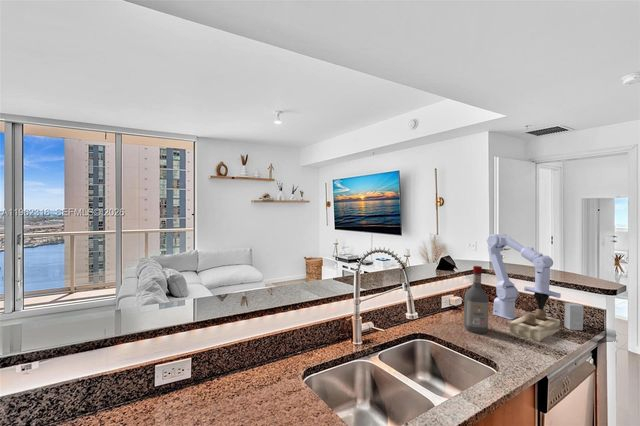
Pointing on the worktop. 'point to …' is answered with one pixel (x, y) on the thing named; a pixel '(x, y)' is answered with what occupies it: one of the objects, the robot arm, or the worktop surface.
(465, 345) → the worktop surface
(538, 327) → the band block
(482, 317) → the liquor
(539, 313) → the walnut peg
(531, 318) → the walnut peg
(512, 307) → the robot arm
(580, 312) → the skincare box
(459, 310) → the worktop surface
